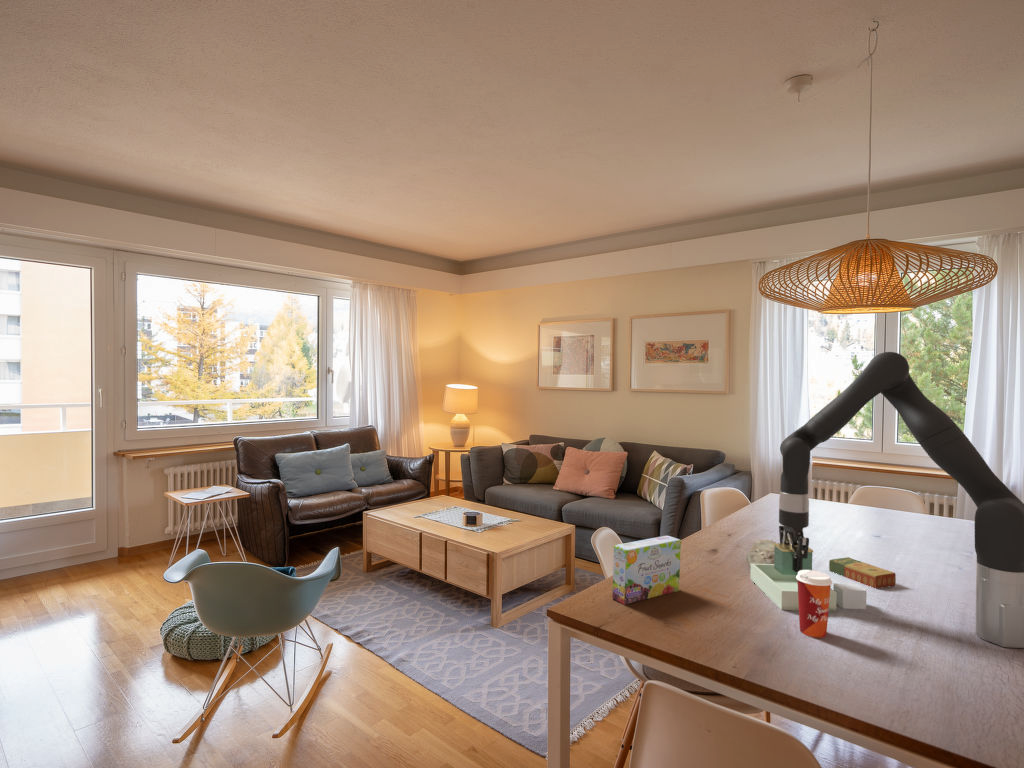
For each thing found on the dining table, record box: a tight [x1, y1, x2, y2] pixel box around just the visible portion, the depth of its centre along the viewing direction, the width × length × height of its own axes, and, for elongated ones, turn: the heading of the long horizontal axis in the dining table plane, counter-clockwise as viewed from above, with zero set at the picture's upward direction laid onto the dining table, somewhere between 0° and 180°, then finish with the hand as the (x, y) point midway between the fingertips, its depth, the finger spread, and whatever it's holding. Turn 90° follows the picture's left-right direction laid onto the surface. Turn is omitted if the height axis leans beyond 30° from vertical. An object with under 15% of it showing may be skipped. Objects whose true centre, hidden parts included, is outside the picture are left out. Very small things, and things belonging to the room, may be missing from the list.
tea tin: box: [774, 542, 814, 575], centre depth 158 cm, size 6×8×7 cm
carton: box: [828, 556, 897, 589], centre depth 172 cm, size 8×16×4 cm, turn 18°
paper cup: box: [796, 569, 833, 639], centre depth 134 cm, size 8×8×14 cm
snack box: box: [612, 535, 682, 606], centre depth 156 cm, size 21×6×15 cm, turn 122°
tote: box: [749, 564, 837, 613], centre depth 158 cm, size 22×14×5 cm, turn 177°
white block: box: [832, 582, 867, 610], centre depth 151 cm, size 5×6×5 cm
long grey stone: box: [746, 539, 777, 570], centre depth 189 cm, size 35×5×10 cm
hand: (792, 567), depth 158 cm, fingers closed on tea tin, 5 cm apart
